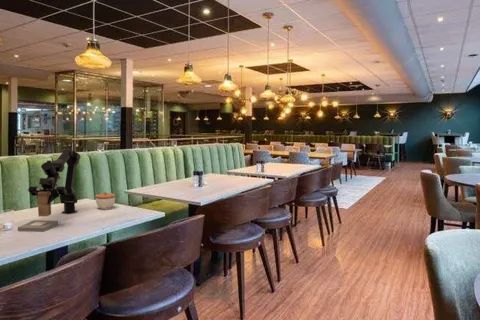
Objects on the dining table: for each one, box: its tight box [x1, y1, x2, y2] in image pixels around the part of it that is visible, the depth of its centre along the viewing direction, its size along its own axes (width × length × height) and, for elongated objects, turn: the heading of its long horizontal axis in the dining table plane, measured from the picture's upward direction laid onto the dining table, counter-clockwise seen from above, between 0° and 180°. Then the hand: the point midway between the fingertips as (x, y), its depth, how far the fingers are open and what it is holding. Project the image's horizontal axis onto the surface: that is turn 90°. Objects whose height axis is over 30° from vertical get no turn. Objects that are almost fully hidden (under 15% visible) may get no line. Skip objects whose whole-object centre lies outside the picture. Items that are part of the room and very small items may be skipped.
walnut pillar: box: [37, 191, 52, 217], centre depth 191 cm, size 5×5×13 cm
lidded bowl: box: [94, 191, 116, 210], centre depth 237 cm, size 13×13×11 cm
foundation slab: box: [17, 219, 59, 233], centre depth 192 cm, size 14×14×2 cm
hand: (43, 204), depth 189 cm, fingers closed on walnut pillar, 5 cm apart
